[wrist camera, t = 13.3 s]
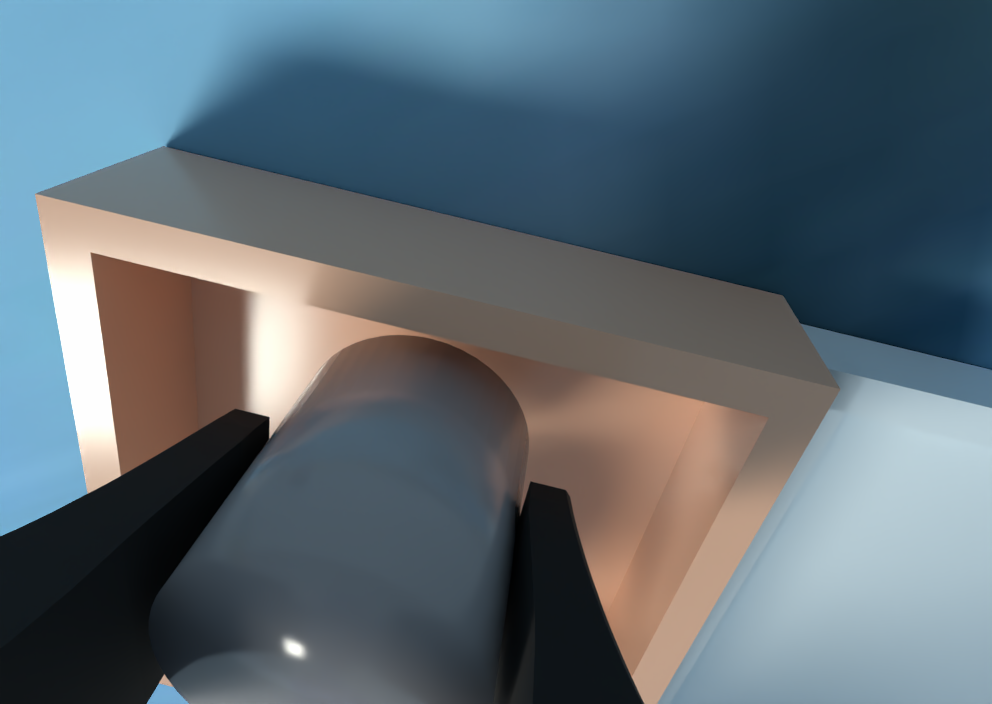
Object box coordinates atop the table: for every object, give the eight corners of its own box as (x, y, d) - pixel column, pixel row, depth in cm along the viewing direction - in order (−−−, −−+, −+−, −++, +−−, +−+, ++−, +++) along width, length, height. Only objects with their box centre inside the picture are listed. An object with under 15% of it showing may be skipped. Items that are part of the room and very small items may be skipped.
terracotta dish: (602, 670, 20) (603, 795, 17) (191, 568, 20) (119, 673, 17) (783, 295, 13) (840, 389, 10) (163, 146, 13) (35, 193, 10)
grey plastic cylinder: (503, 541, 13) (460, 805, 9) (300, 492, 13) (161, 729, 9) (553, 368, 11) (528, 608, 7) (309, 309, 11) (132, 510, 7)
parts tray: (998, 838, 21) (1031, 906, 20) (587, 735, 21) (586, 794, 20) (1468, 485, 13) (1587, 552, 11) (796, 322, 13) (823, 367, 12)
